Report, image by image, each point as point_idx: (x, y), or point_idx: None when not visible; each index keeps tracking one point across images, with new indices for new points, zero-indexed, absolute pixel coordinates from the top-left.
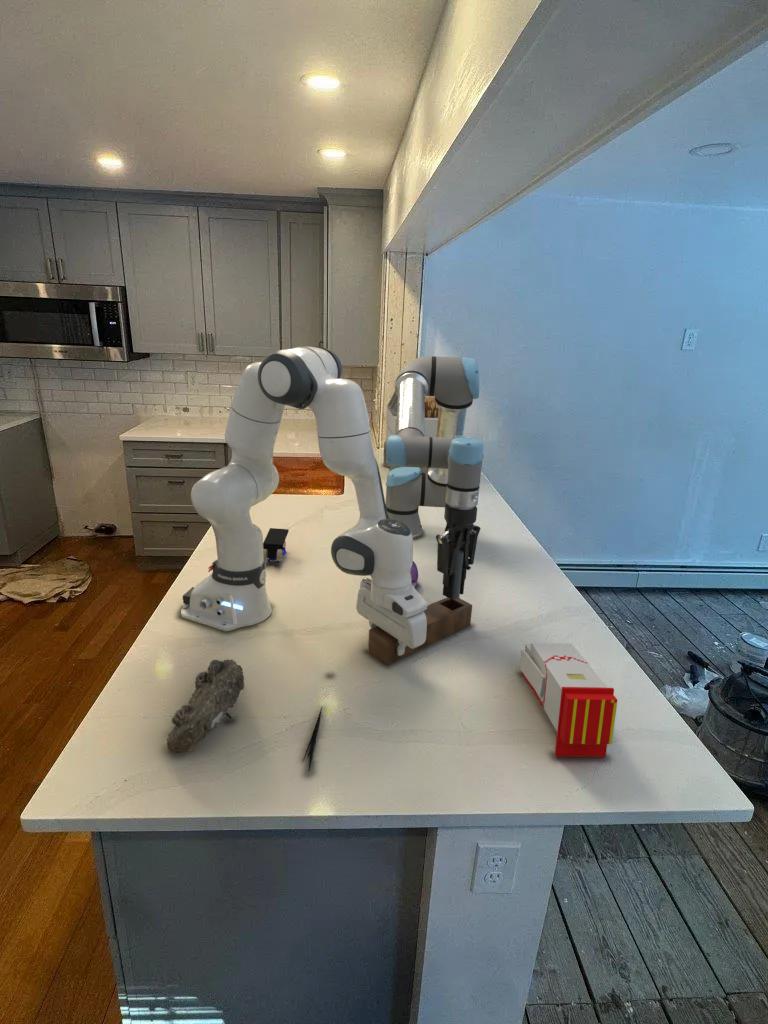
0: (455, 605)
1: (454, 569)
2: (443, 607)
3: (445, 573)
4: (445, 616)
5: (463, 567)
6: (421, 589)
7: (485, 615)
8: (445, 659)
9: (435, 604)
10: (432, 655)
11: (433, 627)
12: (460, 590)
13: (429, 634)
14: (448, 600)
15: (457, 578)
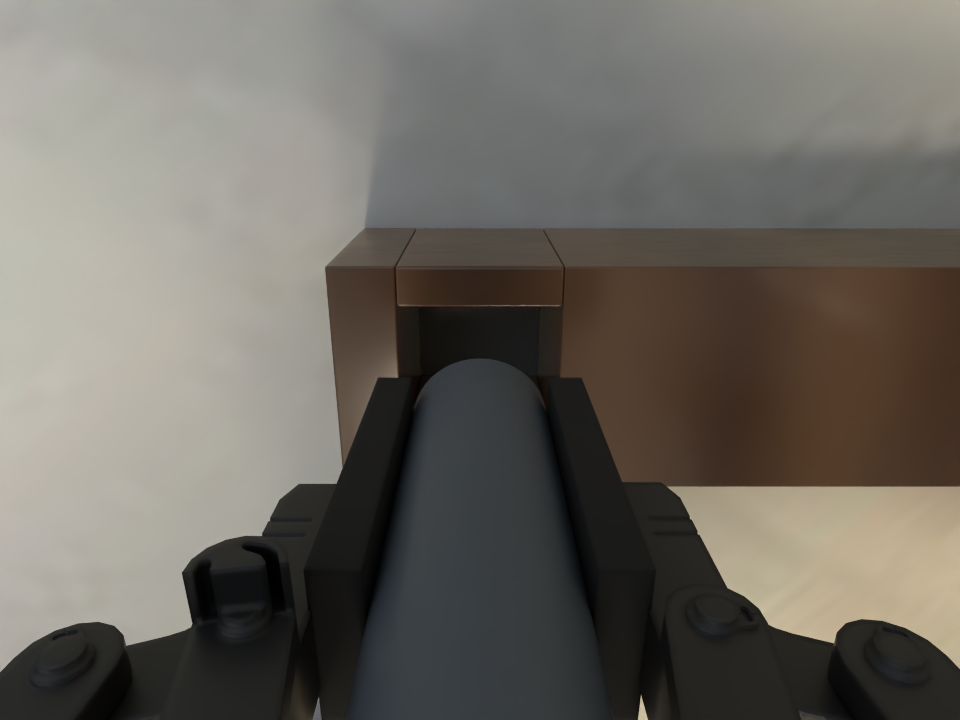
0: None
1: (596, 658)
2: None
3: (908, 640)
4: (697, 272)
5: (302, 639)
6: None
7: (159, 259)
8: (855, 24)
9: None
10: (875, 124)
11: (825, 256)
12: (406, 412)
13: (841, 245)
14: None
15: (525, 500)
